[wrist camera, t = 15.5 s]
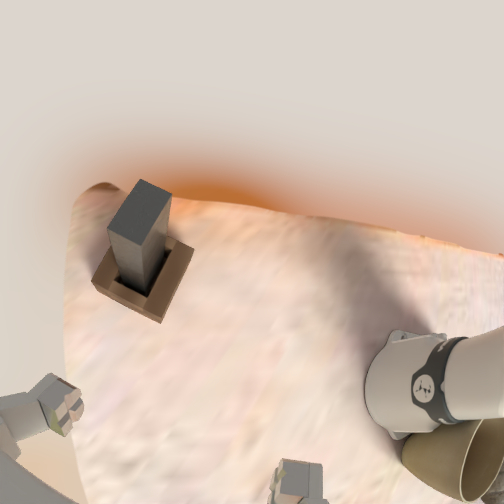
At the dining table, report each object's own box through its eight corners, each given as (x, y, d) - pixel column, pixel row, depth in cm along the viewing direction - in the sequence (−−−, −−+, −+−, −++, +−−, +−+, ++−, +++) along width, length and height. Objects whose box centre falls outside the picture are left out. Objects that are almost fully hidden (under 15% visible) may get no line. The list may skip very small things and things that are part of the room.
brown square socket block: (189, 261, 39) (194, 249, 35) (160, 323, 35) (161, 317, 31) (130, 232, 38) (128, 216, 34) (97, 291, 34) (90, 280, 30)
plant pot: (391, 413, 40) (472, 413, 26) (443, 409, 43) (512, 403, 29) (376, 495, 33) (449, 516, 19) (431, 479, 36) (497, 487, 22)
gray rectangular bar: (163, 262, 37) (172, 193, 23) (145, 297, 35) (141, 246, 21) (142, 252, 37) (140, 178, 23) (124, 286, 34) (106, 228, 20)
